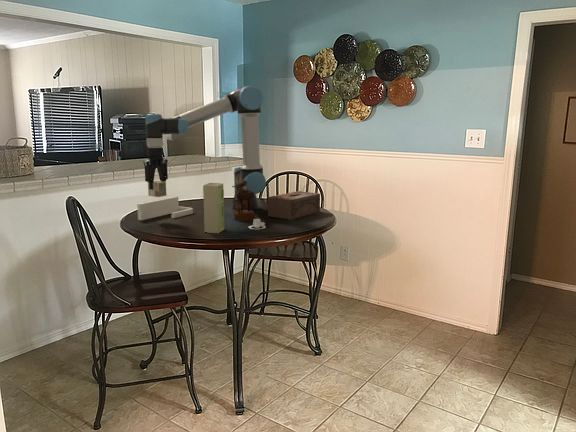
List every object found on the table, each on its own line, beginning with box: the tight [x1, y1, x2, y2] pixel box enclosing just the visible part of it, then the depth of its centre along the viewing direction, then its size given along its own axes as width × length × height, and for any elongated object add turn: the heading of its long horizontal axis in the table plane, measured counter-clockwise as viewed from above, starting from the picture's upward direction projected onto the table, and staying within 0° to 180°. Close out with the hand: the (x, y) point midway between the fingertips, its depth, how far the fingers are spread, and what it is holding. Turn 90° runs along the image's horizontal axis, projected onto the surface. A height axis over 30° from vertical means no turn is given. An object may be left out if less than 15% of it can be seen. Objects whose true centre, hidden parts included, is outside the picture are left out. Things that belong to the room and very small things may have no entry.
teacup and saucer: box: [247, 218, 266, 230], centre depth 216 cm, size 9×8×4 cm
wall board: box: [136, 196, 194, 221], centre depth 239 cm, size 12×28×8 cm, turn 149°
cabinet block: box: [147, 179, 168, 198], centre depth 229 cm, size 7×5×7 cm
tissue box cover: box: [267, 190, 321, 221], centre depth 246 cm, size 26×14×10 cm, turn 142°
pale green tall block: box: [202, 182, 225, 234], centre depth 207 cm, size 8×7×21 cm
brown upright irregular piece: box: [231, 180, 256, 222], centre depth 233 cm, size 15×11×20 cm
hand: (157, 195), depth 230 cm, fingers closed on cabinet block, 5 cm apart
